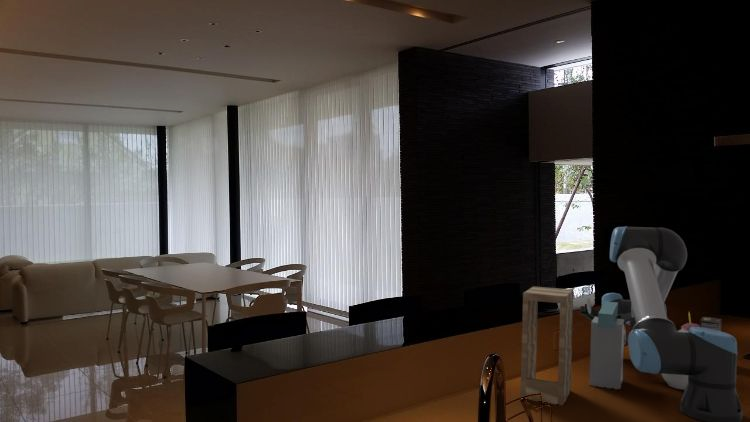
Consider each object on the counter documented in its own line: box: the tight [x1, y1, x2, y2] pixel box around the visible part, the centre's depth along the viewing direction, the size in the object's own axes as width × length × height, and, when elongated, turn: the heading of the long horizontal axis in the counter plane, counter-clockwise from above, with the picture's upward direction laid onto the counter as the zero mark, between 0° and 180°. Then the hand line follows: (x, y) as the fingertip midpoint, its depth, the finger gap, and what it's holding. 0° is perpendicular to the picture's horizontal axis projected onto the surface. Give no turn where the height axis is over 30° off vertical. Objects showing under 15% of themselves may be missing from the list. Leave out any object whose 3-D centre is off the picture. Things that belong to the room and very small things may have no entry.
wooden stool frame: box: [520, 285, 574, 406], centre depth 183 cm, size 15×12×31 cm
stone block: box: [589, 317, 625, 390], centre depth 196 cm, size 10×9×20 cm
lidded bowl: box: [661, 374, 688, 391], centre depth 194 cm, size 13×13×11 cm
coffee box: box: [699, 316, 723, 332], centre depth 222 cm, size 9×6×16 cm
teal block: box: [598, 301, 618, 328], centre depth 197 cm, size 24×4×4 cm, turn 155°
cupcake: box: [680, 312, 700, 332], centre depth 259 cm, size 9×8×12 cm
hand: (610, 304), depth 202 cm, fingers open, 13 cm apart
